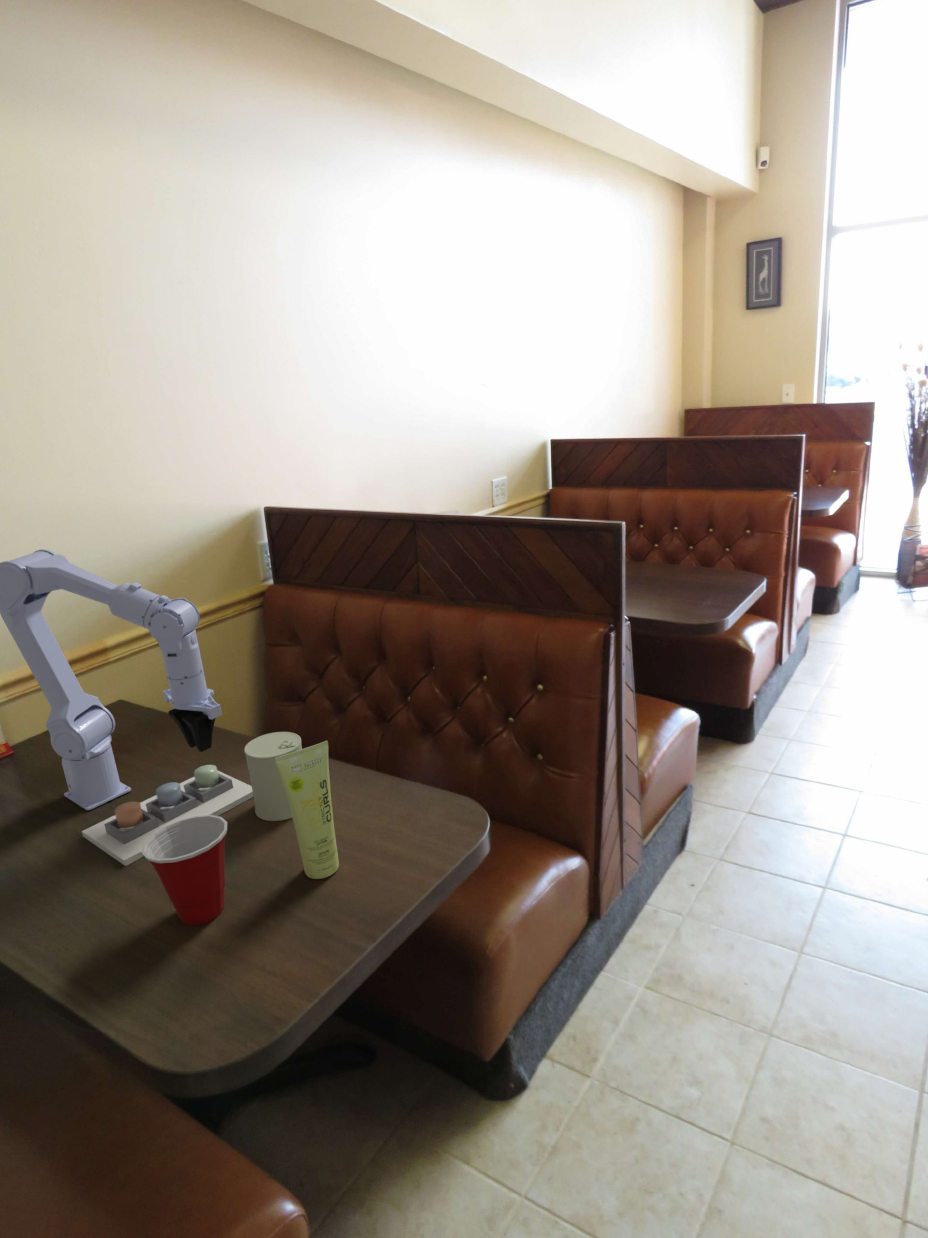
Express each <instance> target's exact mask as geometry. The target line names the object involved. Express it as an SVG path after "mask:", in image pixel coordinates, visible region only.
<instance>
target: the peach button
mask: <svg viewBox="0 0 928 1238" xmlns="http://www.w3.org/2000/svg"><path fill="white" fill-rule="evenodd" d="M140 803H141V802H139V801H134V800H133V801H128V802H124V803H122V804H119V805H118V806H116V808H114V814H115V816H116V820H117V823H118V826H119V827H121V828H128V827H132V826H135V825H137V824H139V823H140V822H141V821H142V820H143V814H142V810H141V805H140Z"/></svg>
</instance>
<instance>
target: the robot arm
mask: <svg viewBox="0 0 928 1238" xmlns="http://www.w3.org/2000/svg"><path fill="white" fill-rule="evenodd" d="M59 590H63V591H66V592H68V593H72V594H74V595H78V596H81V597H84V598H86V599H89V600H92V601H95V602H98V603H101V604H104V605H107V606H108V608H109V610H110V612H111V615H113V616H115V617H117V618H120V619H121V620H124V621H126V622H130V623H132V624H134V625H137V626H139V627H141V628H144V629H147V630H148V631H149V634H150V635H151V637H152V639H154V640H155V641H156V642H157V643H158V646H159V650H160V651H161V654H162V659H163V664H164V669H165V673H166V678H167V682H168V687H169V688H168V689H164V690H163V691H162V696H163V700H164V702H165V703H170V705H171V707H172V708H173V709H169V710H168V713H167V714H168V716H169V717H170V718H172V720H173V721H174V722H175V724H176V725H177V726H178V728H179V730H180V731H181V733H182V735H183V737H184V739H185V741H186V742H187V746H189V748H191V749H192V748H194V747H196V748H197V750H198V752H200V753H203V752H204V751H207V750H209V749H211V748H212V743H213V734H214V733H213V731H214V725H215V721H216V719H217V718H219V717H221V716H223V712H222V708H221V704H220V703H218V702H216V701H215V699H214V697H212V696H214V694H215V692H214V689H212V688H208V687H207V681H206V677H205V671H204V666H203V661H202V657H201V651H200V645H199V641H198V640H199V639H198V637H197V630H196V628H197V627H198V625H199V623H200V618H201V616H200V612H199V609H198V608H197V606H196V605H195V604H194V603H193V602H191V601H190V600H188V599H186V598H185V597H177V598H176V597H175V598H174V599H171V598H169V597H168V596H167V595H164V594H162V595H159V594H157V593H154V592H152V591H150V590H147V589H144V588H143V587H142V584H141V583H138V582H136V581H134V582H132V583H131V582H126V583H125V582H124V583H122V584H120V585H117V584H115V583H113V582H110V581H108V580H107V579H104V578H102V577H100V576H98V575H96V574H94V573H92V572H89V571H88V570H86V569H85V568H84V569H83V568H82V567H80V566H78V565H75V564H74V563H71V561H69V560H68V559H67V558H66V556H65V555H62V554H58V553H55V552H53V551H52V550H50V549H38V550H35V551H33V552H32V553H28V554H26V555H23V556H20V557H17V558H14V559H11V560H6V561H1V562H0V617H1V619H2V621H4V624H5V626H6V628H7V629H8V632H9V634H10V635H11V636H12V639H13V640H14V642H15V645H17V648H18V650H19V651H20V653H21V655H22V657H23V659H24V660H25V662H26V663H27V666H28V668H29V669H30V671H31V673H32V675H33V677H34V678H35V680H36V682H37V684H38V686H39V688H40V690H41V691H42V693H43V694H44V697H45V699H46V700H47V702H48V704H49V706H50V712H49V714H48V717H47V720H46V723H45V726H46V729H47V730H48V732H49V735H50V744H51V746H52V749H53V750H54V752H55V753H56V754H57V755H58V756H59V757H61V766H62V770H63V772H64V777H65V781H66V784H67V788H68V791H66V792H64V794H63V796H64V797H66V798H67V799H68V800H70V801H71V802H73V803H75V804H76V805H78V806H79V807H80V808H82V809H84V810H86V811H91V810H93V809H96V808H98V807H99V806H102V805H104V804H106V803H107V802H109V801H112V800H114V799H117V798H118V797H120V796H123V795H125V794H127V793H129V792H130V791H131V792H132V788H131V787H130V786H128V785H126V784H125V783H123V782H121V781H120V776H119V772H118V768H117V764H116V760H115V755H114V753H113V752H114V751H113V747H112V744H111V742H112V740H113V739H112V735H111V734H112V733H113V732H114V731H115V728H116V720H115V718H114V717H115V716H114V715H113V713H111V711H110V710H109V709H107V708H106V707H105V706H104V705H103V704H102V702H101V701H100V699H99V697H98V696H96V695H92V694H90V693H86V692H85V691H84V689H83V688H82V686H81V684H80V682H79V680H78V679H77V677H76V674H75V673H74V671H73V668H71V666H70V663H69V661H68V659H67V658H66V656H65V654H64V653H63V651H62V649H61V647H60V644H59V643H58V641H57V640H56V637H55V636H54V634H53V632H52V630H51V628H50V626H49V624H48V622H47V621H46V619H45V618H46V617H44V615H43V613H42V609H43V607H44V605H45V602H46V600H47V598H48V596H49V595H50V594H51V592H54V591H59Z"/></svg>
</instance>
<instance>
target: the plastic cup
mask: <svg viewBox="0 0 928 1238" xmlns="http://www.w3.org/2000/svg"><path fill="white" fill-rule="evenodd" d="M227 832H228V821H227V820H225V818H223V817H222V816H220V815H219V816H213V815H203V816H194V817H190V818H186V819H182V820H179V821H177V822H174V823H172V824H170V825H167V826H165V827H163V828H162V829H160V830H159V831H157V832H155V833H154V834H152V835H151V836H150V837H149V838H148V839H147V840H146V842H145V843H144V844H143V847H142V851H141V852H142V854H143V855H144V856H143V857H144V858H145V859H146V860H147V861H148V862H150V864H151V865H152V867H153V869H154V870H155V871H156V873H157V875H158V878H159V879H160V882H161V884H162V886H163V888H164V890H165V892H166V894H167V897H168V898H169V901H170V902H171V903H172V906H173V907H174V909H175V912H176V914H177V916H178V917H179V919H180V920H181V921H182V923H183V924H186V925H188V926H198V925H204V924H207V923H209V922H210V921H213V920H215V919H216V918H217V917H218V916H219V915H220V914H221V913H222V912H223V909H224V907H225V885H226V883H225V882H226V881H225V880H226V877H225V848H226V847H225V846H226V835H227V834H228V833H227Z"/></svg>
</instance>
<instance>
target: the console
mask: <svg viewBox="0 0 928 1238" xmlns="http://www.w3.org/2000/svg"><path fill="white" fill-rule="evenodd" d="M217 772H218V777H219V782H218V783H217V784H216V785H214V786H212V787H208V788H198V787H197V786H196V781H195V777H194V776H193V777H190V778H188V779H186V780H184V781H182V782H180V783H179V784H180V788H181V792H182V797H183V799H182V801H181V802H180V803H178V804H176V805H174V806H171V807H161V806H159V803H158V799H157V795H156V794H155V795H153V796H151V797H149V798H147V799H145V800H143V801H141V802H139V803H140V805H141V810H142V814H143V820H142V821H141V822H140V823H139V824H137V825H135V826H132V827H128V828H121V827H119V826H118V823H117V820H116V816H115V815H111V816H110V817H108V818H106V819H105V820H102V821H100V822H98V823H96V824H93V825H92V826H90V827H88V828H86V829H84V830H82V831H81V834H82V837H83V838H85V839H86V840H87V841H89V842H91V843H92V844H93V845H95V846H96V847H97V848H99V849H100V850H102V851H103V852H104V853H106V854H107V855H109V856H110V857H112V858H114V859H115V860H116V861H118V862H119V863H120V864H121V865H123V866H125V867H127V866H129V865H130V864H132V863H135V862H136V861H138V860H140V859H141V858H143V857H145V856H144V855H143V854H142V852H141V851H142V847H143V844H144V843H145V842H146V840H147V839H148V838H149V837H150V836H151V835H152V834H154V833H155V832H157V831H159V830H160V829H162V828H163V827H165V826H167V825H170V824H172V823H174V822H177V821H179V820H182V819H186V818H190V817H194V816H203V815H213V816H219V817H220V816H221V815H222V814H224V813H226V812H227V811H230V810H231V809H233V808H235V807H237V806H239V805H241V804H242V803H244V802H247V801H248V800H250V799H252V798H254V796H253V791H252V785H251V784H248V783H245V782H244V781H241V780H240V779H237V778H234V777H233V776H231V775H228V774H226V773H224V772H222V771H220V770H218V769H217Z"/></svg>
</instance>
